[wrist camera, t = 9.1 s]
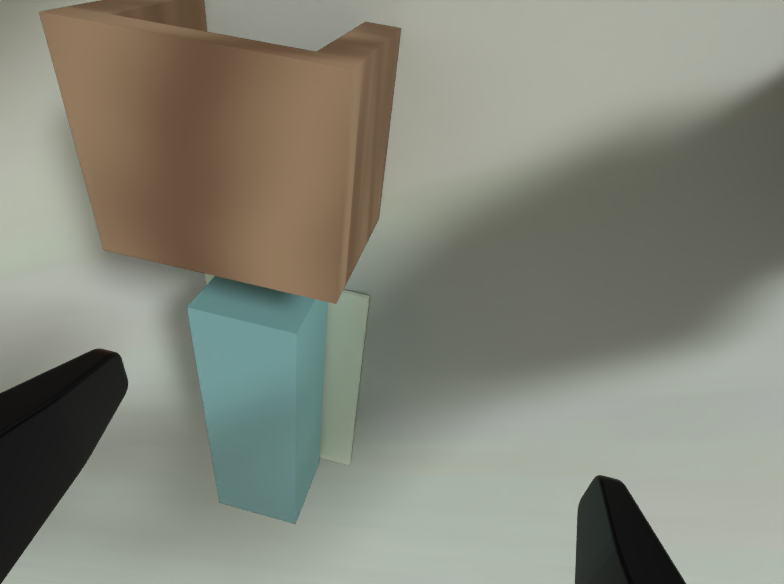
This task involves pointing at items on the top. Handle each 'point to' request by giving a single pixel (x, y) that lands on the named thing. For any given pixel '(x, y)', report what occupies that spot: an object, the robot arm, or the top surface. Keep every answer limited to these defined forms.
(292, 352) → the bar
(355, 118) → the tunnel
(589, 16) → the top surface
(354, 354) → the pad
